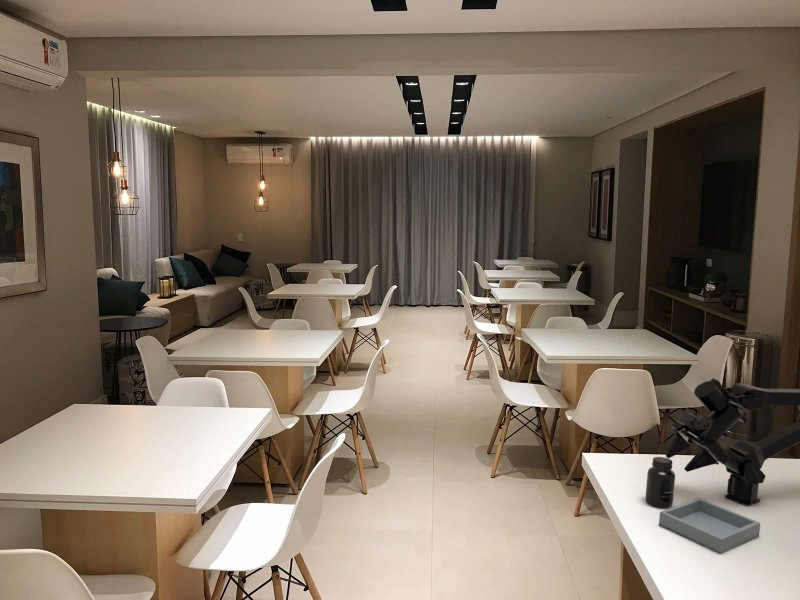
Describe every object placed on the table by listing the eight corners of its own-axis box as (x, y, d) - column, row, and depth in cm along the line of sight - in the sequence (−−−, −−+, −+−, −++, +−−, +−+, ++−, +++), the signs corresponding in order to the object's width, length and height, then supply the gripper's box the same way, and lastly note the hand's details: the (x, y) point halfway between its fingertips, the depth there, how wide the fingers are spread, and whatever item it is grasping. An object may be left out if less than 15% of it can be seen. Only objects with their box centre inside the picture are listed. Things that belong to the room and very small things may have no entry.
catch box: (759, 536, 161) (760, 522, 160) (720, 554, 152) (721, 539, 151) (697, 510, 174) (698, 497, 173) (658, 525, 165) (659, 511, 165)
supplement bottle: (670, 511, 173) (673, 466, 171) (642, 504, 177) (645, 461, 175) (675, 502, 179) (678, 458, 177) (648, 495, 182) (651, 453, 181)
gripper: (680, 391, 184) (639, 431, 184) (721, 412, 166) (676, 456, 166) (705, 419, 187) (664, 458, 187) (748, 442, 168) (703, 485, 168)
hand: (675, 463), depth 177 cm, fingers open, 9 cm apart
